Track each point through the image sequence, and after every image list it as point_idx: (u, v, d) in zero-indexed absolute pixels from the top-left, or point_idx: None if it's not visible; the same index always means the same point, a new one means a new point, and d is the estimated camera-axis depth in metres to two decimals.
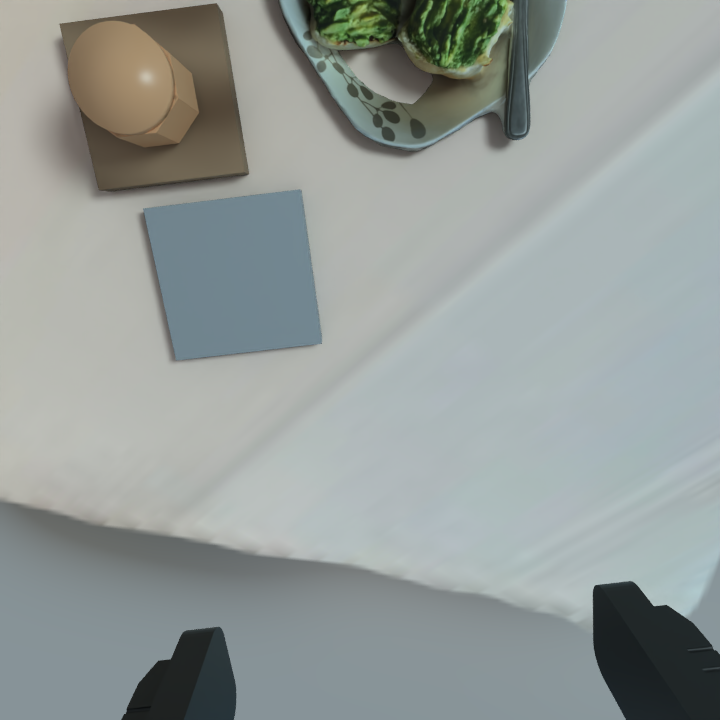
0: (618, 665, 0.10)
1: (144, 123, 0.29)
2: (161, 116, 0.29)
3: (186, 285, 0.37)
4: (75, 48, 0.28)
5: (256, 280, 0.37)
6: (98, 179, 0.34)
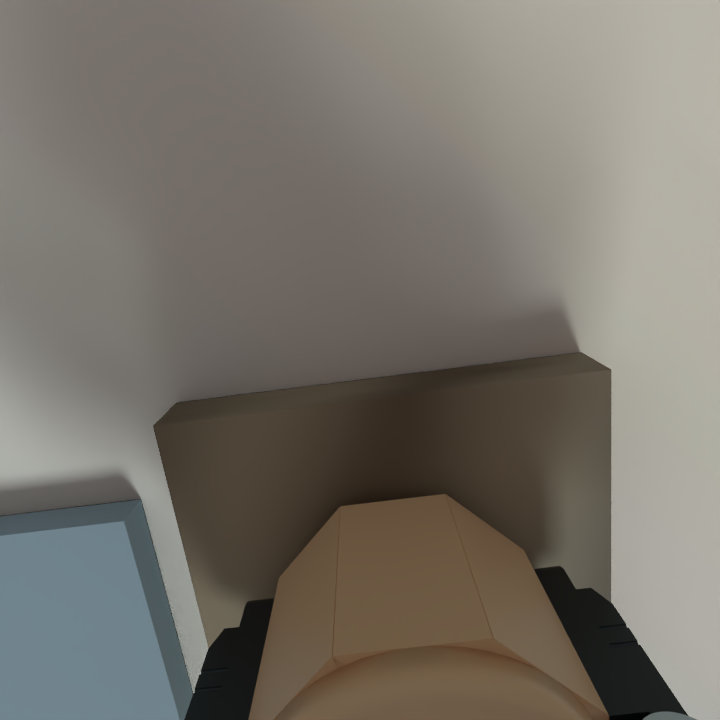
0: None
1: None
2: None
3: None
4: None
5: None
6: (184, 428, 0.11)
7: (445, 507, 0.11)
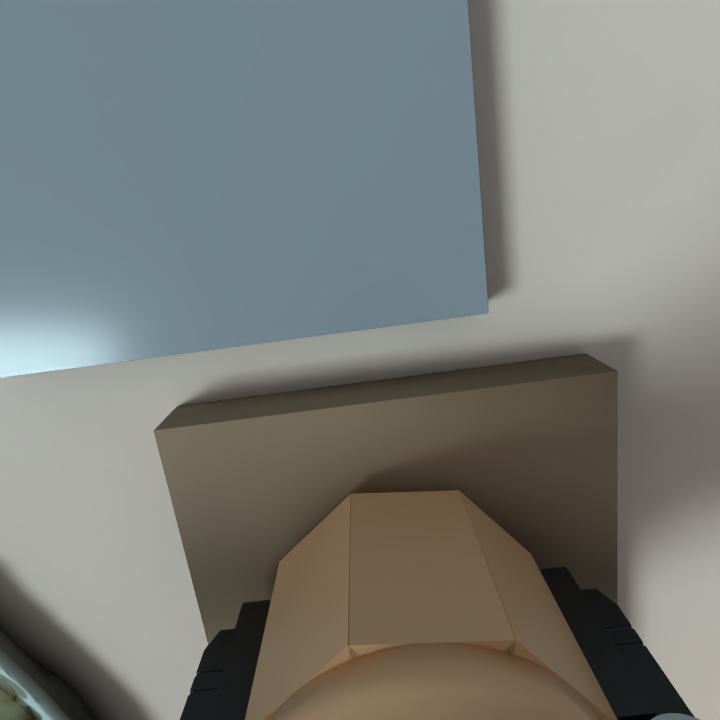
0: None
1: None
2: None
3: (367, 35, 0.10)
4: None
5: (100, 59, 0.10)
6: (610, 401, 0.11)
7: (459, 503, 0.10)
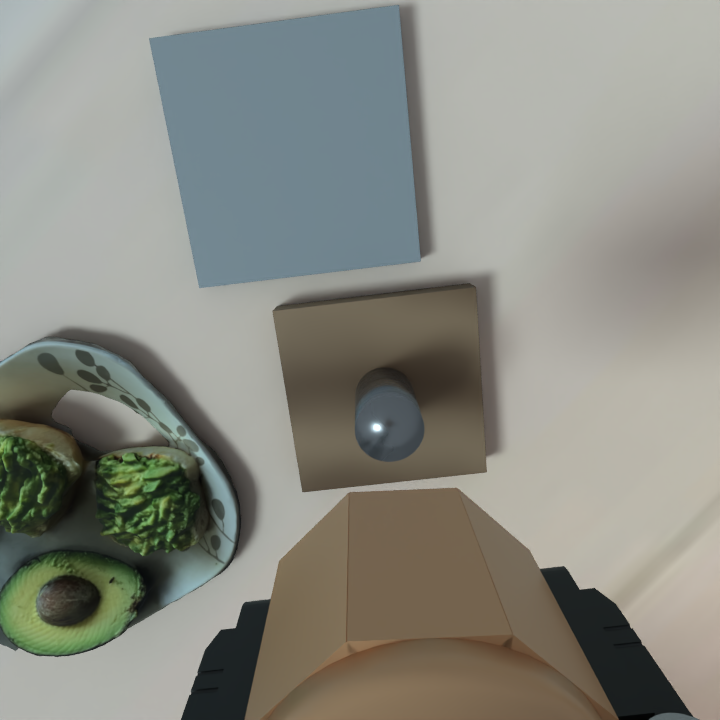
0: None
1: None
2: None
3: (369, 144, 0.24)
4: None
5: (260, 152, 0.24)
6: (473, 301, 0.25)
7: (457, 501, 0.10)
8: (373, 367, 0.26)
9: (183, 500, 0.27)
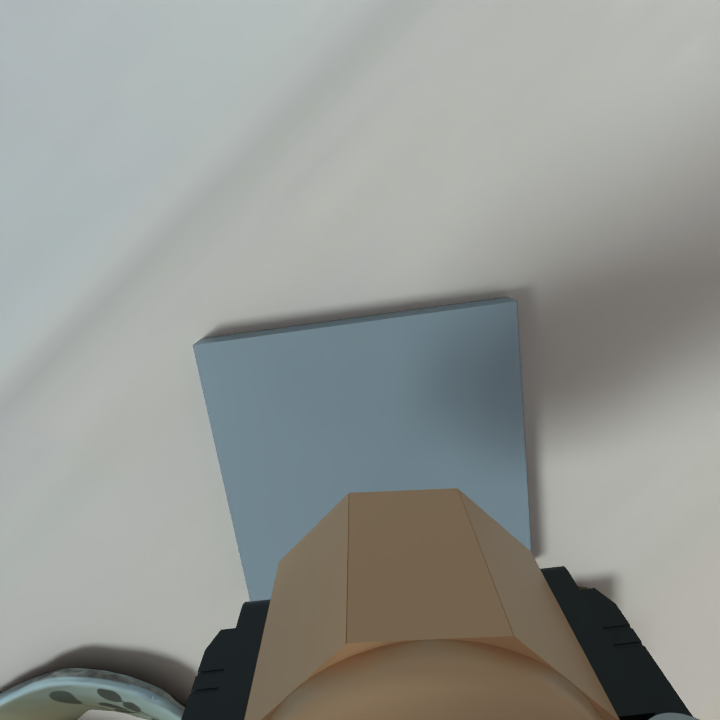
0: None
1: None
2: None
3: (472, 456, 0.18)
4: None
5: (333, 468, 0.19)
6: None
7: (457, 501, 0.10)
8: None
9: None
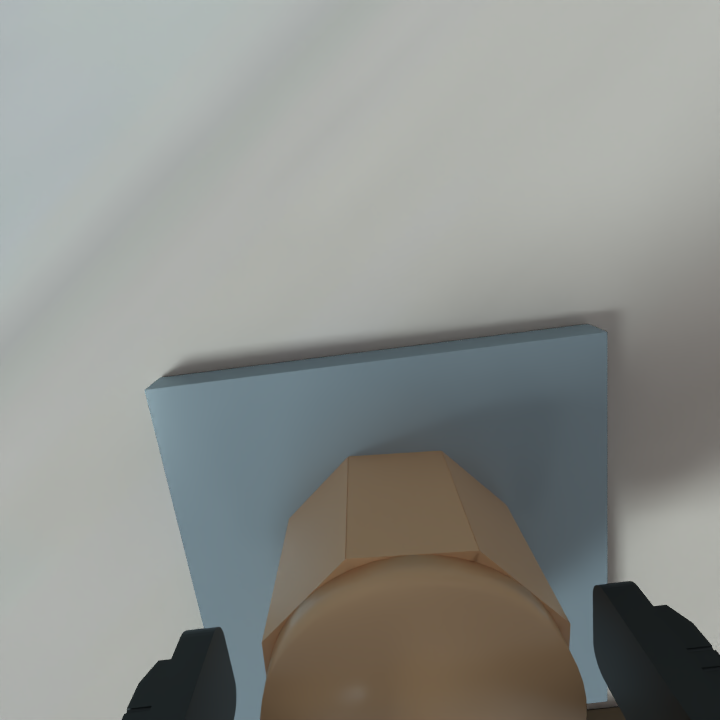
0: (618, 665, 0.10)
1: None
2: None
3: (534, 542, 0.13)
4: (525, 619, 0.08)
5: None
6: None
7: (441, 460, 0.12)
8: None
9: None
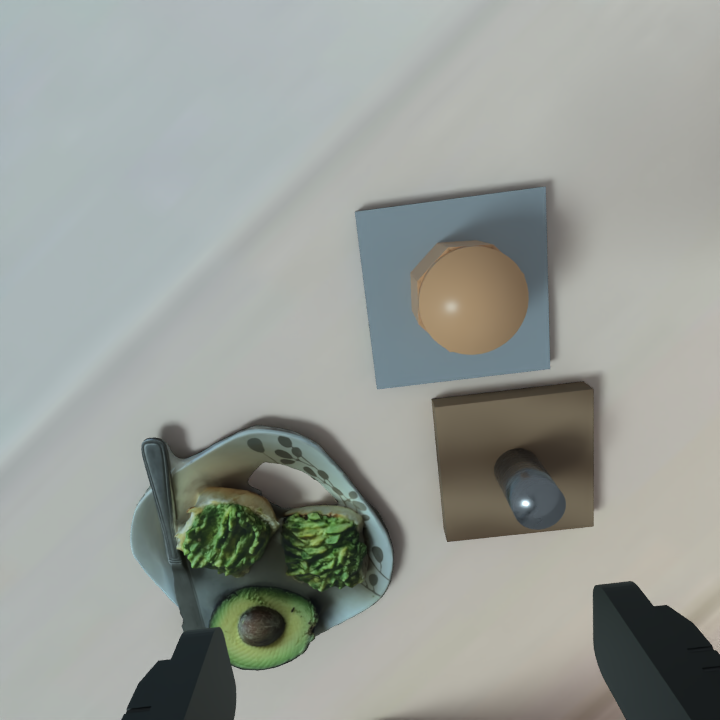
0: (618, 665, 0.10)
1: (427, 321, 0.27)
2: (433, 338, 0.27)
3: None
4: (508, 260, 0.26)
5: None
6: (591, 399, 0.32)
7: (476, 240, 0.30)
8: (509, 448, 0.33)
9: (356, 549, 0.35)
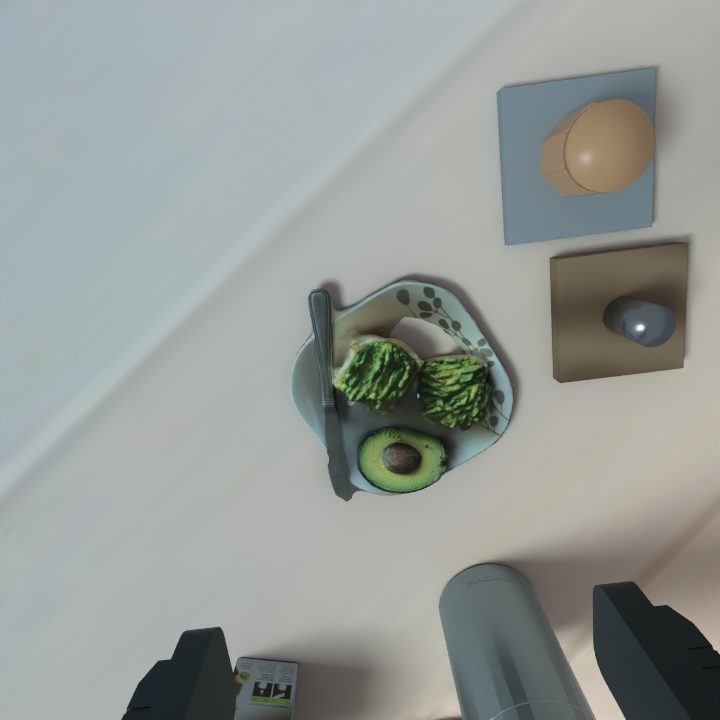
0: (618, 665, 0.10)
1: (573, 163, 0.33)
2: (576, 178, 0.34)
3: None
4: (640, 110, 0.33)
5: None
6: (686, 251, 0.39)
7: None
8: (617, 296, 0.40)
9: (485, 387, 0.41)
